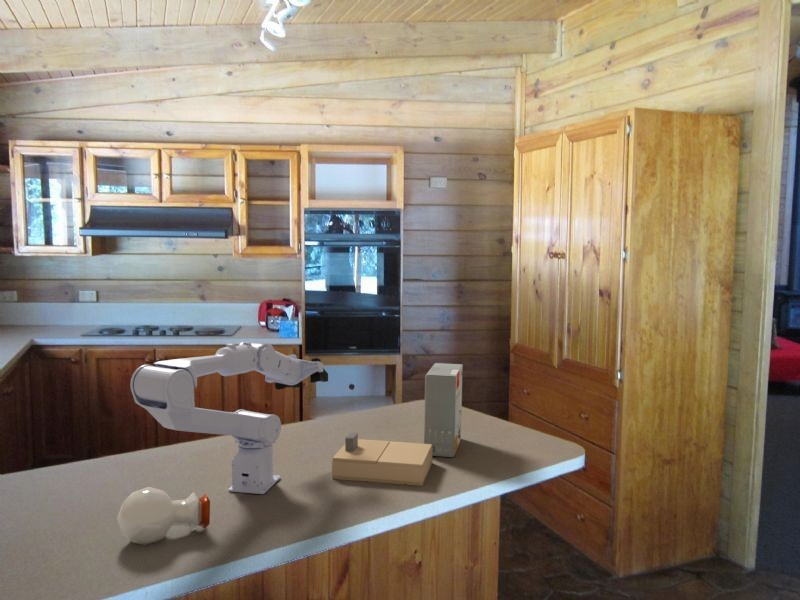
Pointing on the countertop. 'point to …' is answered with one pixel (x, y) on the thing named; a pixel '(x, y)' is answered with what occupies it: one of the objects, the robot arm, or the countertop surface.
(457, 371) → the hard drive box
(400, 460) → the carton
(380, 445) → the lid flap
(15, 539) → the countertop surface
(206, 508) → the potion bottle
